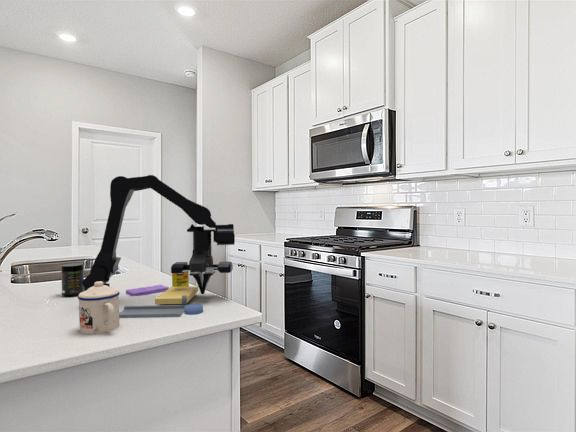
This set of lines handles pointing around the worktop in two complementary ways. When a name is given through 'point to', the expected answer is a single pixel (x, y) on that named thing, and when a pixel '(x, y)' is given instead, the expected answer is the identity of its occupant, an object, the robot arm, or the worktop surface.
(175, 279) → the supplement bottle
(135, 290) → the sponges
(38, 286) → the worktop surface
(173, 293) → the cover
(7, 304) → the worktop surface
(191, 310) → the blue rounded dome
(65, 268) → the supplement container
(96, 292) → the teacup with lid
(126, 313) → the grey flanged channel
